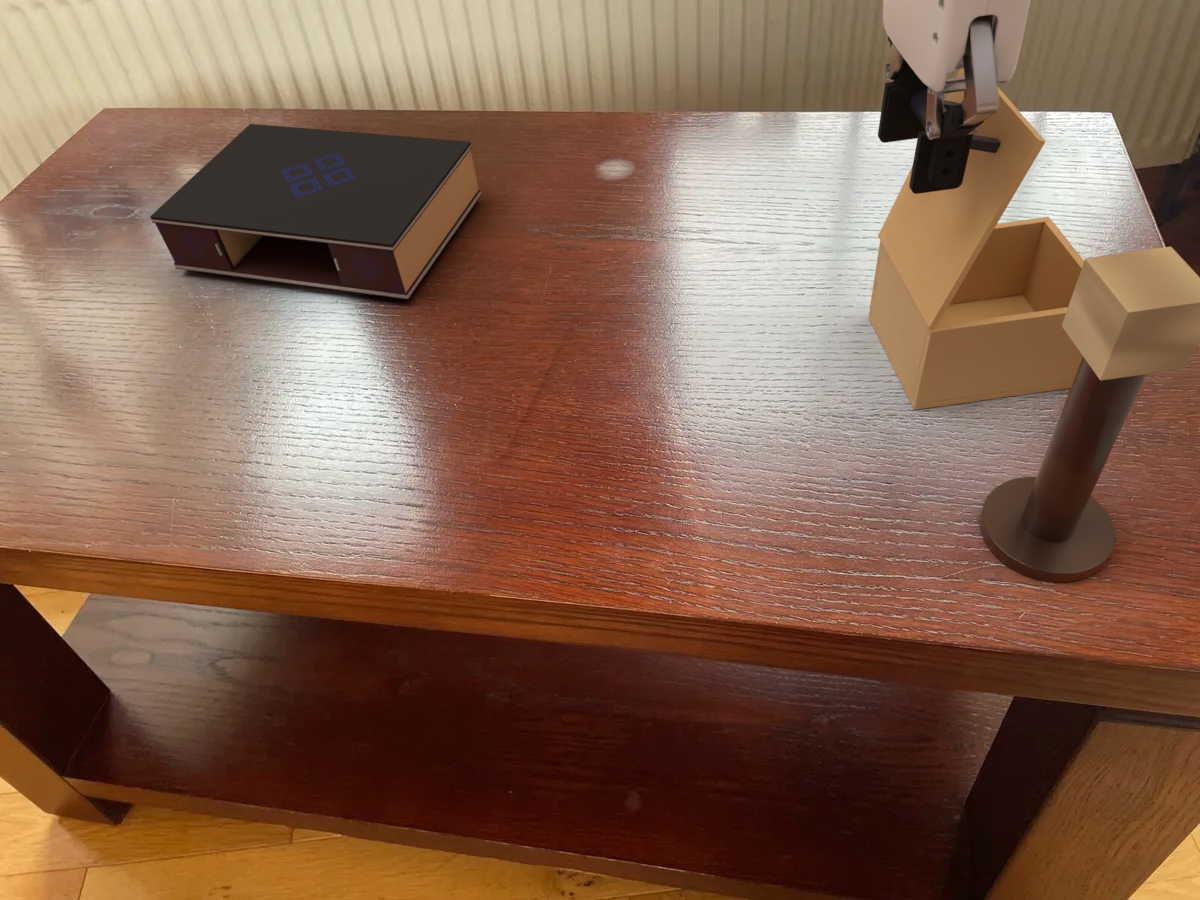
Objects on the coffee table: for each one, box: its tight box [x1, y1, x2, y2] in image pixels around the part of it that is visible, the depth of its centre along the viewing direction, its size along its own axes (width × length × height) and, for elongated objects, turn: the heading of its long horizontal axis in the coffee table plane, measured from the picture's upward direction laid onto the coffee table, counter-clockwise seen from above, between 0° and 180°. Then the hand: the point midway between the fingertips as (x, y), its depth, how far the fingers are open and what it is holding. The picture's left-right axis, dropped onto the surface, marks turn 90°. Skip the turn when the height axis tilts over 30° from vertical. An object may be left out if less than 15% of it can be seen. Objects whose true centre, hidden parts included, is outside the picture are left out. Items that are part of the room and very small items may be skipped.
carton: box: [868, 216, 1085, 411], centre depth 71 cm, size 13×11×8 cm
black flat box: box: [149, 123, 482, 300], centre depth 90 cm, size 17×25×7 cm
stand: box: [979, 357, 1147, 583], centre depth 56 cm, size 8×8×16 cm
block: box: [1062, 246, 1200, 380], centre depth 48 cm, size 4×4×4 cm
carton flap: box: [877, 68, 1046, 328], centre depth 63 cm, size 14×11×5 cm
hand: (918, 160), depth 61 cm, fingers closed on carton flap, 5 cm apart
